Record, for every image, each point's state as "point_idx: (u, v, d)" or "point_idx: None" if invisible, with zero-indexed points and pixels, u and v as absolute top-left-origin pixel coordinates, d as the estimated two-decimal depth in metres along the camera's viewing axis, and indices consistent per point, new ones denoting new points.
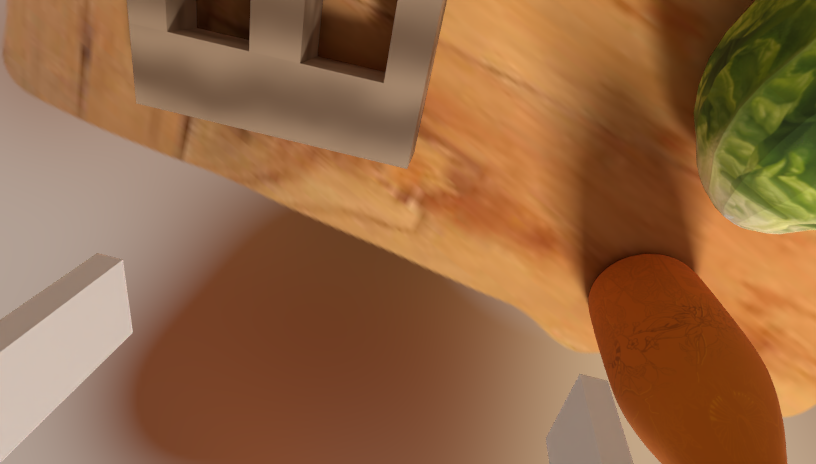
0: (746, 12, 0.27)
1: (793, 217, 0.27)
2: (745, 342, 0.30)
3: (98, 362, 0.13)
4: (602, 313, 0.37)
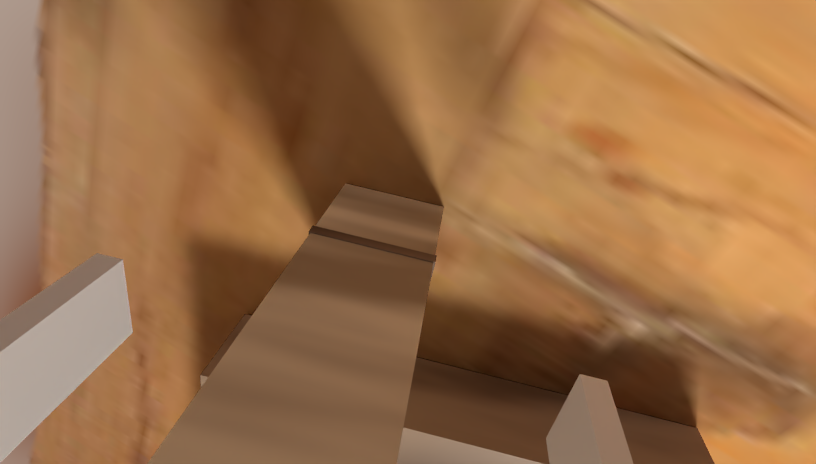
0: None
1: None
2: None
3: (98, 362, 0.13)
4: None
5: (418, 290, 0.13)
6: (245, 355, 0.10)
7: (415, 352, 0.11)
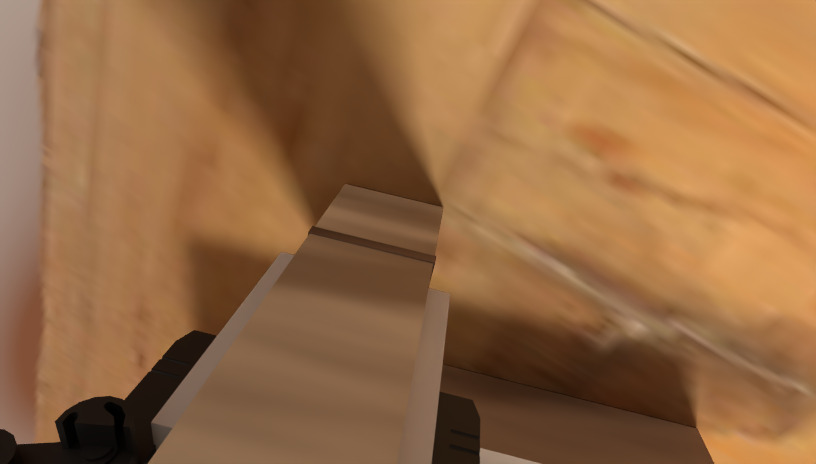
0: None
1: None
2: None
3: None
4: None
5: (418, 291, 0.13)
6: (244, 356, 0.10)
7: (415, 353, 0.11)
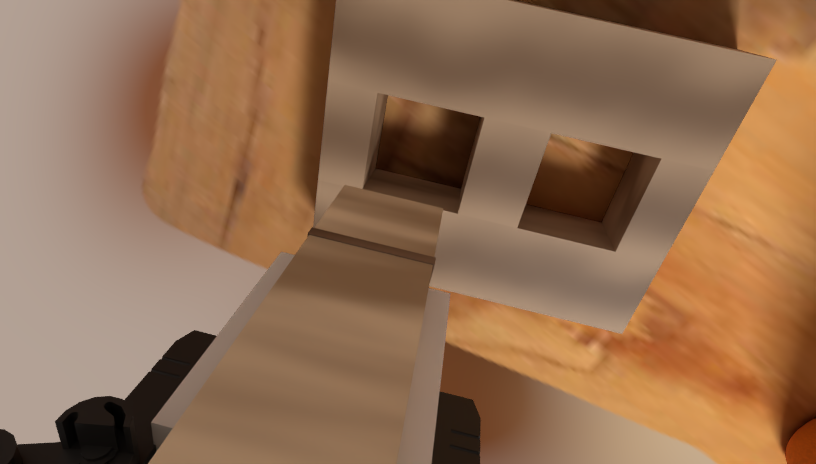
0: None
1: None
2: None
3: None
4: None
5: (418, 293, 0.13)
6: (243, 358, 0.10)
7: (414, 355, 0.11)
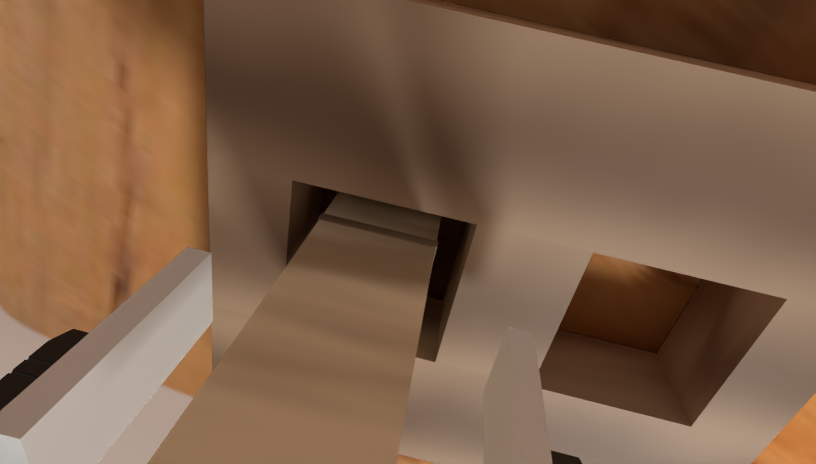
0: None
1: None
2: None
3: (187, 347, 0.14)
4: None
5: (422, 272, 0.14)
6: (263, 326, 0.11)
7: (419, 326, 0.12)
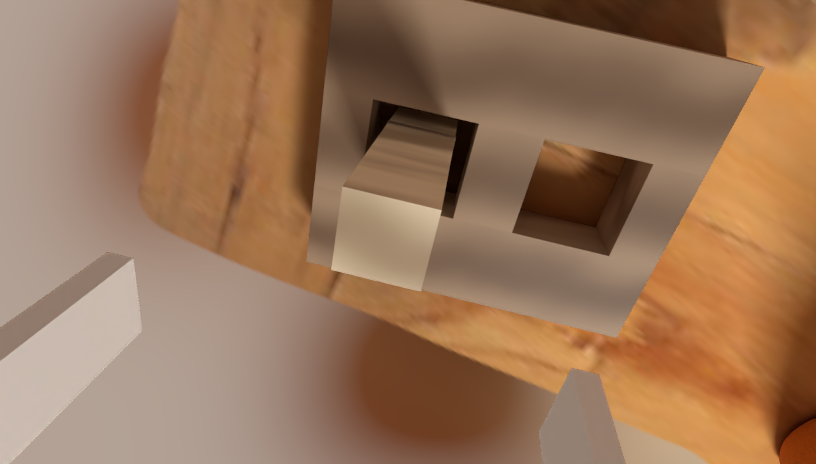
0: None
1: None
2: None
3: (108, 360, 0.13)
4: None
5: (448, 146, 0.25)
6: (375, 153, 0.22)
7: (449, 161, 0.23)
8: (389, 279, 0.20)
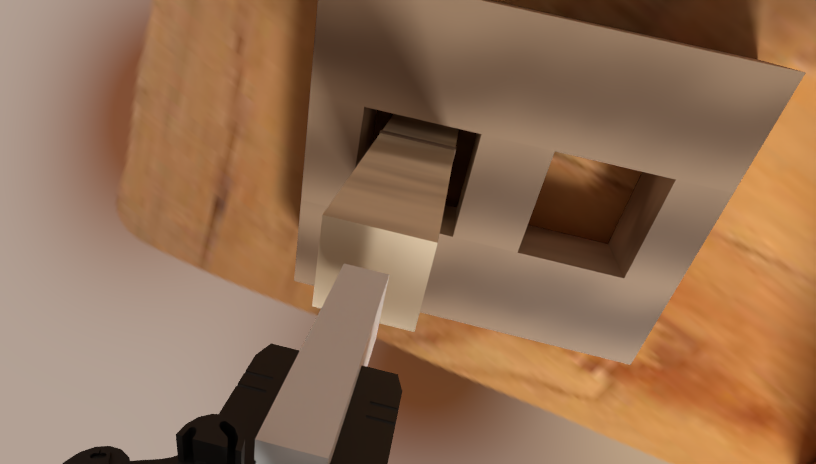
0: None
1: None
2: None
3: None
4: None
5: (447, 159, 0.23)
6: (364, 171, 0.19)
7: (448, 179, 0.20)
8: None
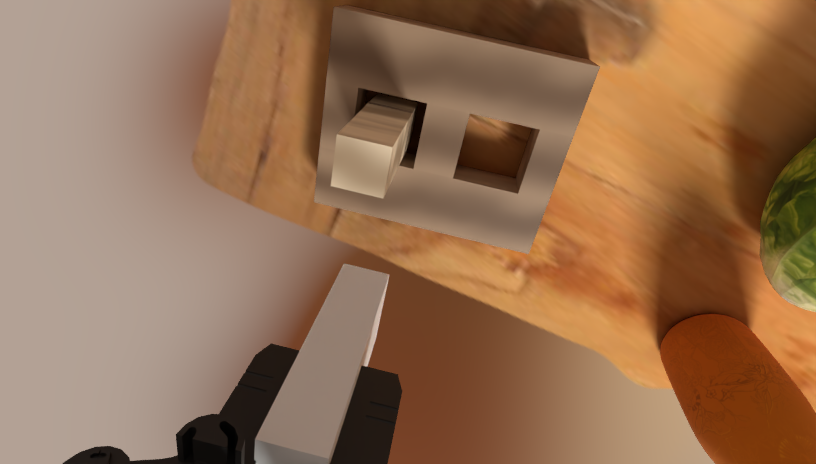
0: (805, 159, 0.36)
1: None
2: (800, 395, 0.40)
3: None
4: (678, 364, 0.47)
5: (406, 117, 0.39)
6: (357, 119, 0.36)
7: (404, 125, 0.37)
8: (364, 191, 0.34)
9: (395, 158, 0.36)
